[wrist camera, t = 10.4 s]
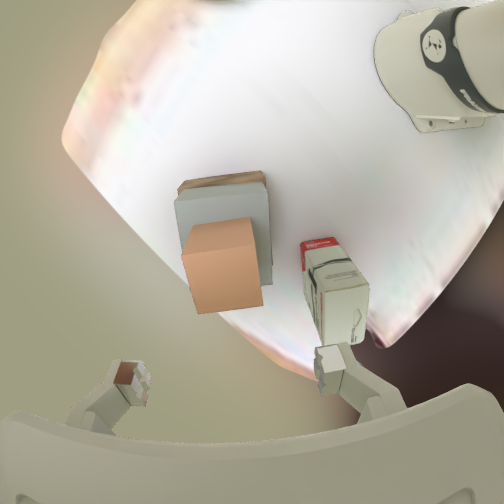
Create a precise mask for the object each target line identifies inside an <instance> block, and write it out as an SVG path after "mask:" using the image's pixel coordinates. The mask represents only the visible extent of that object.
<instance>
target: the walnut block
mask: <svg viewBox="0 0 504 504" xmlns="http://www.w3.org/2000/svg"><path fill="white" fill-rule="evenodd" d="M261 181H262V182H263V184H264V186H265V188H266V182H265V176H264V175H263V173H262V172H261V171H253V172H244V173H236V174H228V175H221V176H213V177H206V178H200V179H193V180H187V181H184V182H183V184H182V185H181V186H180V187H179V188H178V189H177V190H178V196H179V195H180V193H181V192H182V191H183V190H184V189H191V188H199V187H208V186H217V185H227V184H237V183H249V182H261ZM270 240H271V237H270ZM271 261H272V249H271ZM272 265H273V261H272Z"/></svg>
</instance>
